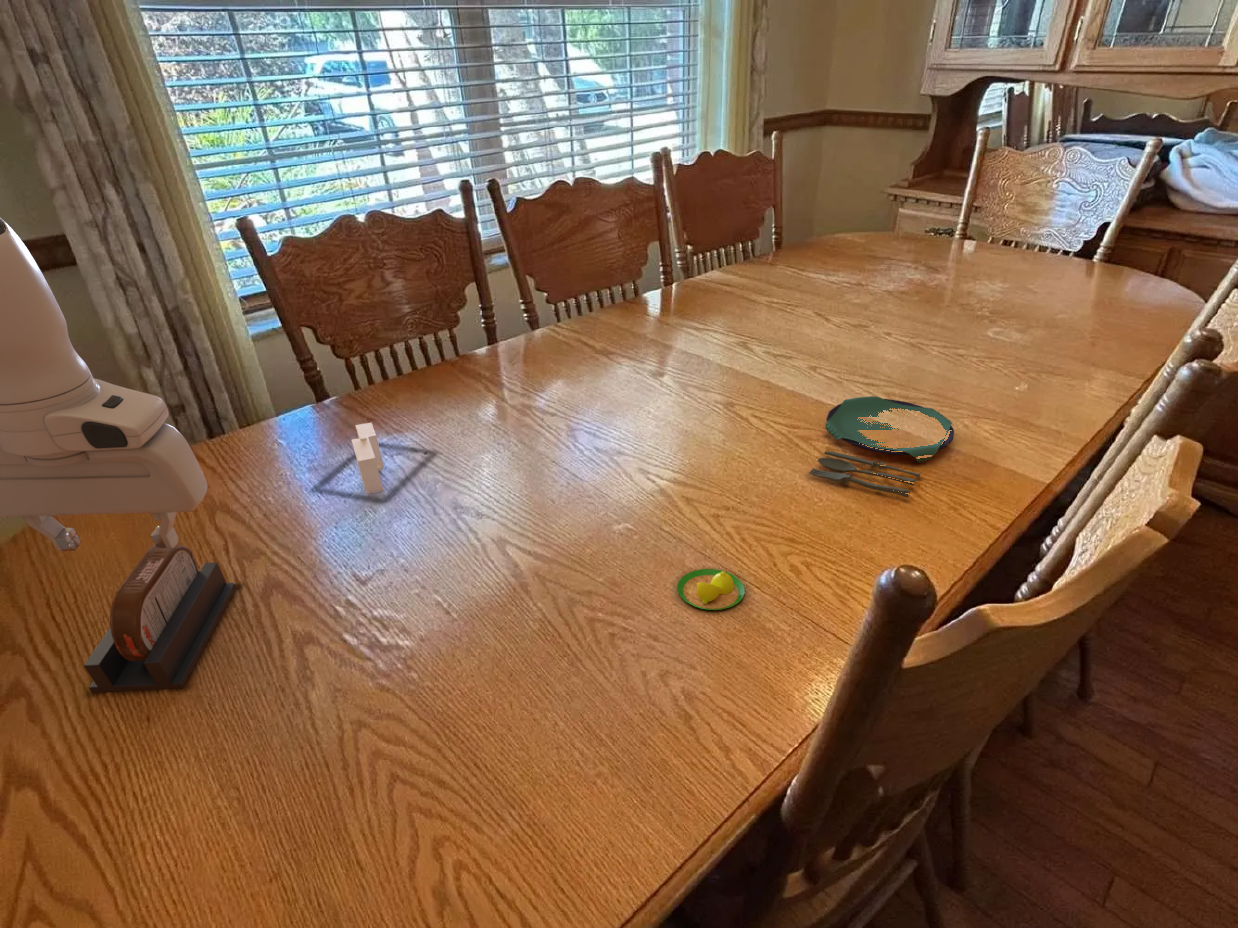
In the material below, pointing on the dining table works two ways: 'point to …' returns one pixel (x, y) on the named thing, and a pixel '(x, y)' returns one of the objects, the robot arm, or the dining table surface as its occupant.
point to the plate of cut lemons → (712, 586)
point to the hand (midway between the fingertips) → (119, 546)
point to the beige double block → (368, 457)
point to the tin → (150, 599)
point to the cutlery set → (846, 427)
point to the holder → (166, 641)
